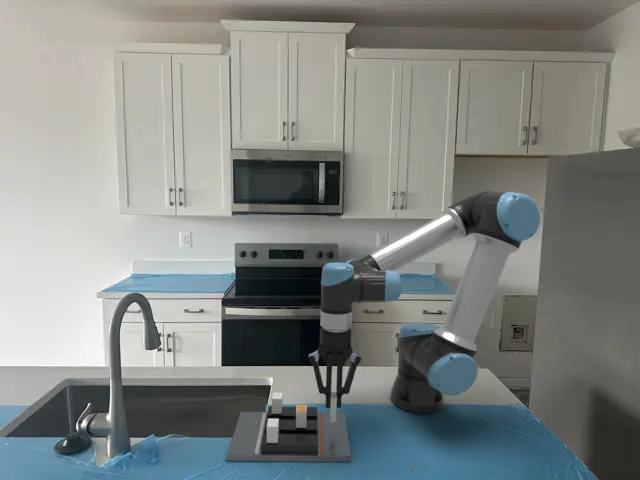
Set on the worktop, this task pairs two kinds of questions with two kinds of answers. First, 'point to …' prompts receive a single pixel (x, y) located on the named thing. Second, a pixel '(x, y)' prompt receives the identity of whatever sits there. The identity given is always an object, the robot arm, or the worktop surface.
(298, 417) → the handle
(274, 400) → the handle
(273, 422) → the handle
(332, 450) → the panel
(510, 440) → the worktop surface
